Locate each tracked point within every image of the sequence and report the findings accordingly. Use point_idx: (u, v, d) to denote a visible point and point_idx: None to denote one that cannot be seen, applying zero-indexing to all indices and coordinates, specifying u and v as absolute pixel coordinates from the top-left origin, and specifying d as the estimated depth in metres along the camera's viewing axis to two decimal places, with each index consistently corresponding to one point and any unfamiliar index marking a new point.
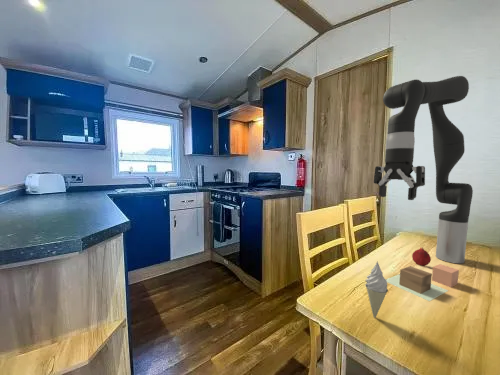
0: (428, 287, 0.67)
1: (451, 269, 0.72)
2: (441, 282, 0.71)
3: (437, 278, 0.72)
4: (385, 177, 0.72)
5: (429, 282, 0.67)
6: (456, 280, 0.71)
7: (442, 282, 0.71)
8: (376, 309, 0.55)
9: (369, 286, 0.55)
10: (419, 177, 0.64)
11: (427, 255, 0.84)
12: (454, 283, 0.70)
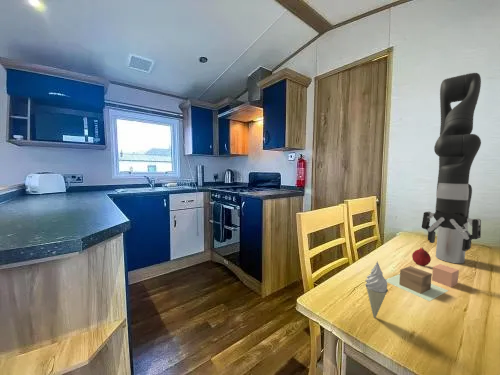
0: (428, 287, 0.67)
1: (451, 269, 0.72)
2: (441, 282, 0.71)
3: (437, 278, 0.72)
4: (436, 224, 0.73)
5: (429, 282, 0.67)
6: (456, 280, 0.71)
7: (442, 282, 0.71)
8: (376, 309, 0.55)
9: (369, 286, 0.55)
10: (476, 230, 0.65)
11: (427, 255, 0.84)
12: (454, 283, 0.70)
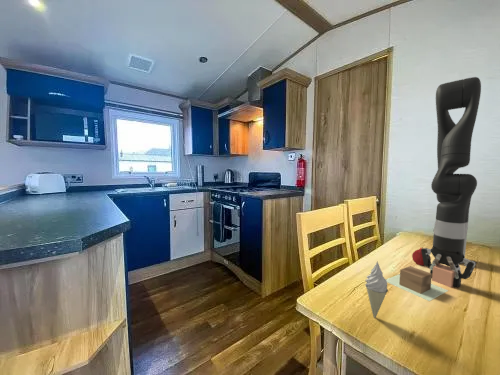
0: (428, 287, 0.67)
1: None
2: (441, 282, 0.71)
3: (437, 278, 0.72)
4: (435, 262, 0.73)
5: (429, 282, 0.67)
6: None
7: (442, 282, 0.71)
8: (376, 309, 0.55)
9: (369, 286, 0.55)
10: (467, 272, 0.67)
11: None
12: None
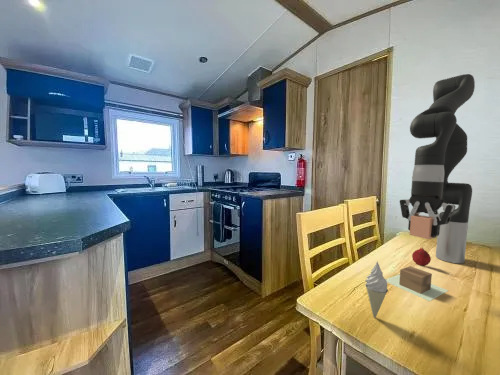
0: (428, 287, 0.67)
1: (429, 217, 0.67)
2: (419, 231, 0.66)
3: (415, 227, 0.67)
4: (414, 211, 0.68)
5: (429, 282, 0.67)
6: None
7: (420, 231, 0.66)
8: (376, 309, 0.55)
9: (369, 286, 0.55)
10: (446, 216, 0.62)
11: (427, 255, 0.84)
12: None
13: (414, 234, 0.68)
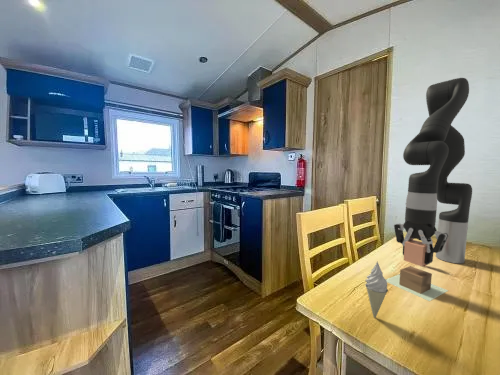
0: (428, 287, 0.67)
1: None
2: (413, 257, 0.67)
3: (408, 253, 0.68)
4: (407, 237, 0.69)
5: (429, 282, 0.67)
6: None
7: (414, 257, 0.67)
8: (376, 309, 0.55)
9: (369, 286, 0.55)
10: (439, 245, 0.63)
11: None
12: None
13: (408, 260, 0.68)
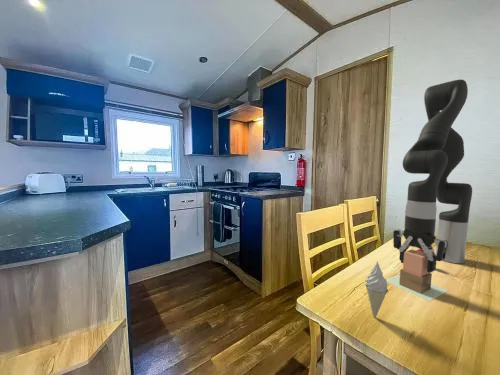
0: (428, 287, 0.67)
1: (422, 253, 0.68)
2: (412, 267, 0.68)
3: (408, 264, 0.69)
4: (406, 244, 0.70)
5: (429, 282, 0.67)
6: None
7: (413, 267, 0.67)
8: (376, 309, 0.55)
9: (369, 286, 0.55)
10: (440, 253, 0.62)
11: None
12: (425, 268, 0.67)
13: (407, 270, 0.69)
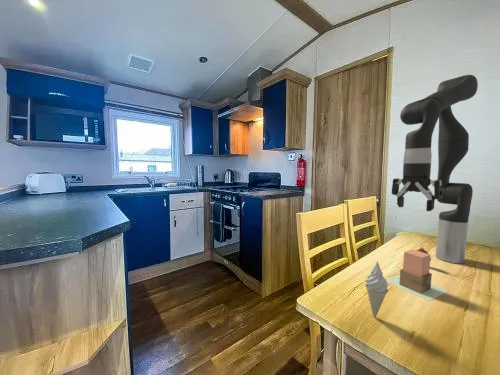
0: (428, 287, 0.67)
1: (422, 253, 0.68)
2: (412, 267, 0.68)
3: (408, 264, 0.69)
4: (403, 189, 0.77)
5: (429, 282, 0.67)
6: (428, 265, 0.67)
7: (413, 267, 0.67)
8: (376, 309, 0.55)
9: (369, 286, 0.55)
10: (437, 190, 0.69)
11: None
12: (425, 268, 0.67)
13: (407, 270, 0.69)
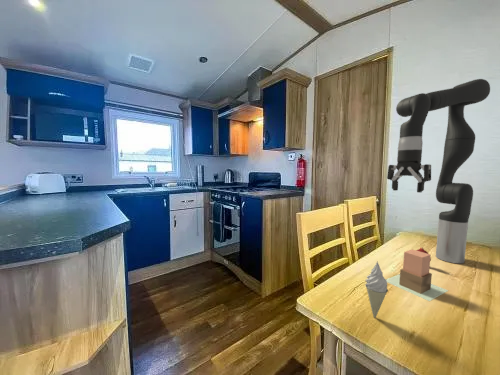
0: (428, 287, 0.67)
1: (422, 253, 0.68)
2: (412, 267, 0.68)
3: (408, 264, 0.69)
4: (397, 174, 0.86)
5: (429, 282, 0.67)
6: (428, 265, 0.67)
7: (413, 267, 0.67)
8: (376, 309, 0.55)
9: (369, 286, 0.55)
10: (426, 173, 0.78)
11: None
12: (425, 268, 0.67)
13: (407, 270, 0.69)
